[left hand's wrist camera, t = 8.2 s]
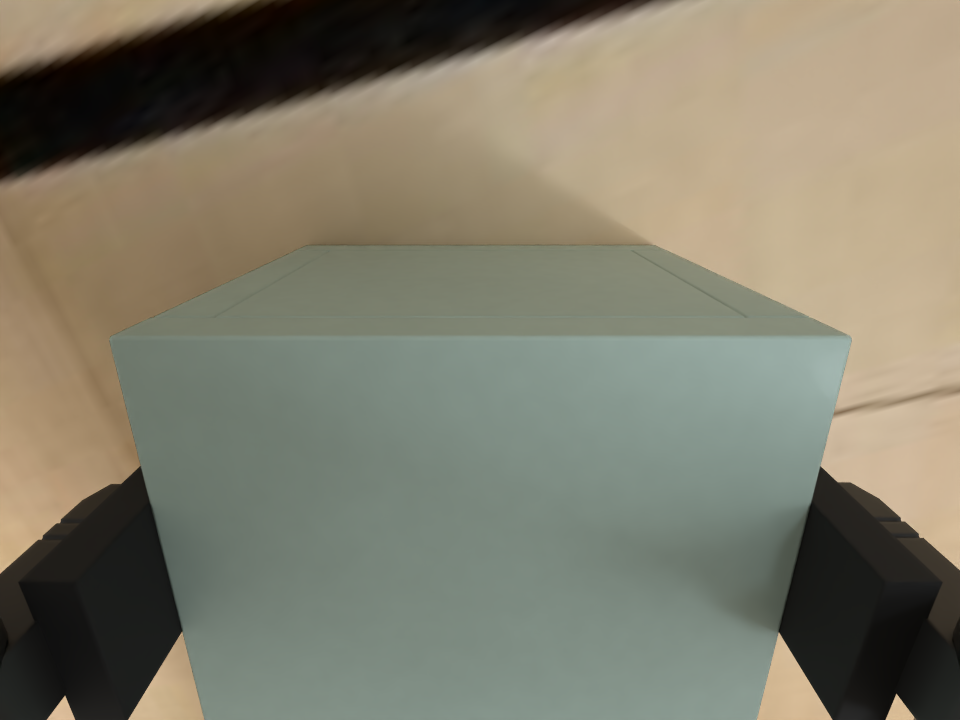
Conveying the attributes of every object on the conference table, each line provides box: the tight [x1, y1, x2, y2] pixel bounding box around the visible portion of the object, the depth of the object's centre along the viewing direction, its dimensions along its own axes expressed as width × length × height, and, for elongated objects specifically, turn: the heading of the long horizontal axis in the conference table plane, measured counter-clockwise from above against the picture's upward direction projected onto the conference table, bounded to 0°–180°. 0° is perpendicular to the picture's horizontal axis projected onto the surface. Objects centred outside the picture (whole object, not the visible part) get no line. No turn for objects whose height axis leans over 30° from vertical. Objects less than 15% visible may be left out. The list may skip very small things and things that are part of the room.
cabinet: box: [109, 245, 852, 720], centre depth 16 cm, size 22×11×9 cm, turn 0°
